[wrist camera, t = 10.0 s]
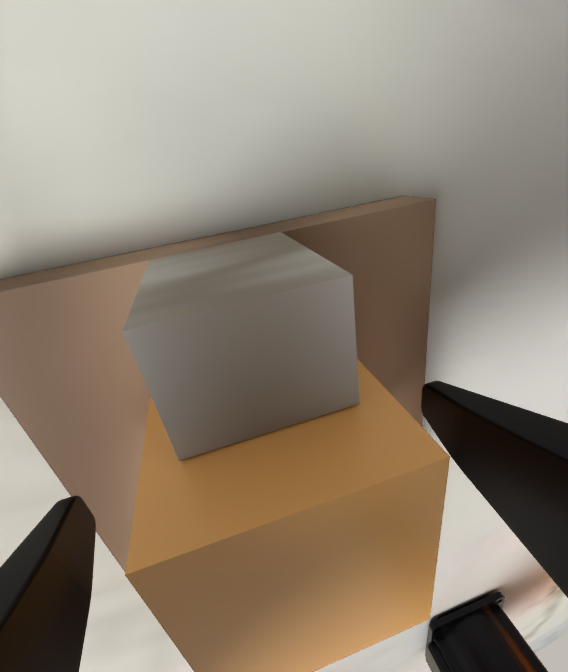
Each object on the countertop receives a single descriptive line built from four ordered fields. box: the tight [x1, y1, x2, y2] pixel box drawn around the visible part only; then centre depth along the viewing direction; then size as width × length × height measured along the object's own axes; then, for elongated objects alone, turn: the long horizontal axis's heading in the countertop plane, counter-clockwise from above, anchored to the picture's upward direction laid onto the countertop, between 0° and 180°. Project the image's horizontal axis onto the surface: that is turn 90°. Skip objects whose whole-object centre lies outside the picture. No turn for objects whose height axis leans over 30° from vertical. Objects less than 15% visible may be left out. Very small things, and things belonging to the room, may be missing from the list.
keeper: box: [125, 359, 450, 672], centre depth 8 cm, size 4×5×5 cm
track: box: [0, 196, 436, 572], centre depth 12 cm, size 12×22×6 cm, turn 9°
